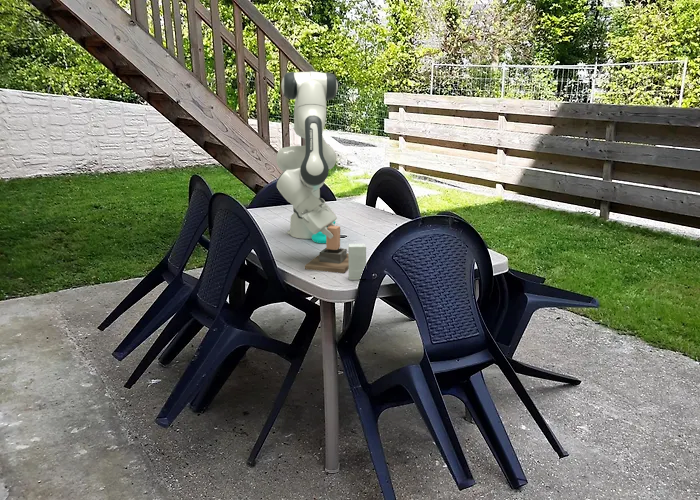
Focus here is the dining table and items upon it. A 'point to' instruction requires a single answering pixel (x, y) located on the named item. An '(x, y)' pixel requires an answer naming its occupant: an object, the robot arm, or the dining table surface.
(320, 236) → the donuts
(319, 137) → the robot arm
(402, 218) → the dining table surface
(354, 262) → the skincare box
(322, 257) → the sleeve stand
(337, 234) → the terracotta peg
